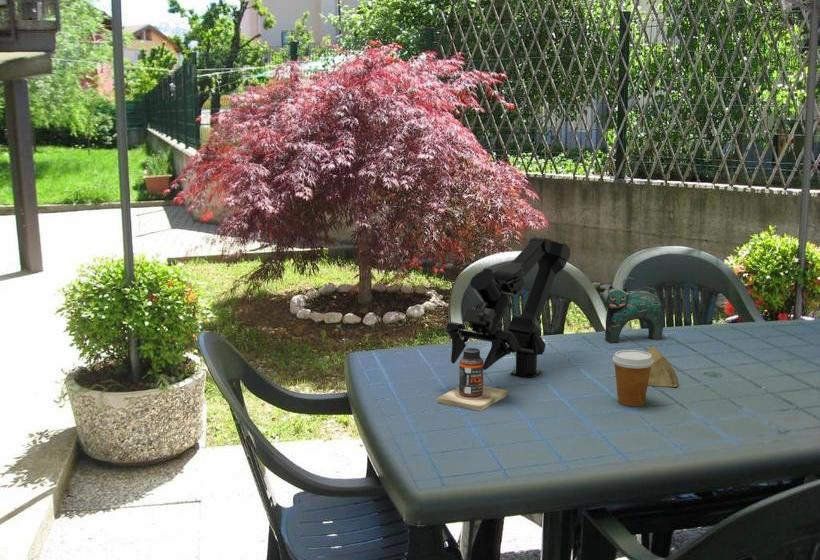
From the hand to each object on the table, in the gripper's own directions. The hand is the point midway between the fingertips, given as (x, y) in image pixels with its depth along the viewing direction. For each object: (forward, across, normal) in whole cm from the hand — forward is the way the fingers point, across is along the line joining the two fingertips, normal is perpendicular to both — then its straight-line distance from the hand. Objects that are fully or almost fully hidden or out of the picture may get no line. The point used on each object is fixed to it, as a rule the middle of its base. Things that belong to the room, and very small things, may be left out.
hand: (467, 365), depth 211 cm
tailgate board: (+5, 0, +8) cm, 9 cm away
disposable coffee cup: (-10, +33, +23) cm, 41 cm away
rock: (-21, +32, +35) cm, 52 cm away
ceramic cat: (-48, +9, +62) cm, 79 cm away
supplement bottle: (+4, 0, +7) cm, 8 cm away
